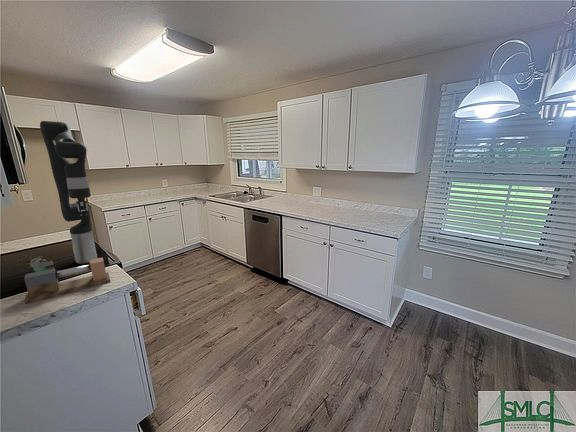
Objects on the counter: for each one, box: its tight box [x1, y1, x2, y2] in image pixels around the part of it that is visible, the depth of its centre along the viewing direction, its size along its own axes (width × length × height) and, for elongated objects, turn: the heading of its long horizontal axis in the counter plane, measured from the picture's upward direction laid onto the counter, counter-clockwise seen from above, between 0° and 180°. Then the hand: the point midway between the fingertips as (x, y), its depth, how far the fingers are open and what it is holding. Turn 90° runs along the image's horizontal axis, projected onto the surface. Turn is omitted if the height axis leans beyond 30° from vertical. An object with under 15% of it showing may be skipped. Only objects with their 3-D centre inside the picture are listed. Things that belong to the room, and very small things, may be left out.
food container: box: [29, 255, 55, 272], centre depth 116 cm, size 12×6×10 cm, turn 62°
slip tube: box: [55, 263, 92, 279], centre depth 110 cm, size 17×3×3 cm, turn 130°
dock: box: [24, 271, 111, 305], centre depth 110 cm, size 28×10×6 cm, turn 130°
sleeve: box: [23, 267, 57, 289], centre depth 103 cm, size 9×5×4 cm, turn 130°
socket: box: [89, 257, 107, 281], centre depth 116 cm, size 5×5×9 cm
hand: (85, 221), depth 115 cm, fingers open, 8 cm apart
